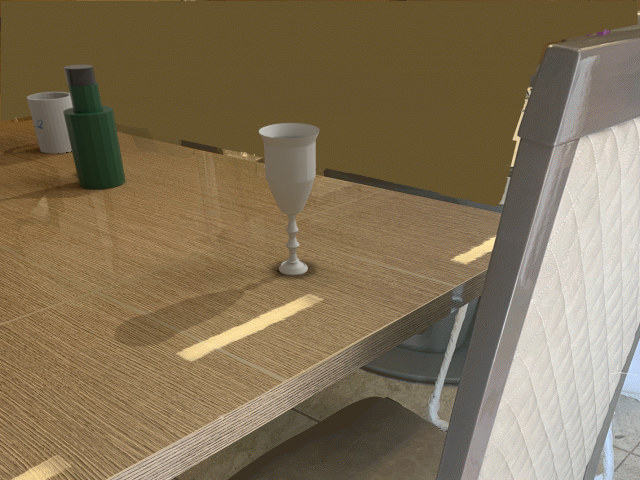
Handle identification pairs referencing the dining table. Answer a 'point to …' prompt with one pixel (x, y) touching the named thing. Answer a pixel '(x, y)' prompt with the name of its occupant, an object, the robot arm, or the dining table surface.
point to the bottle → (93, 139)
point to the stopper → (80, 75)
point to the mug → (50, 120)
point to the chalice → (290, 177)
